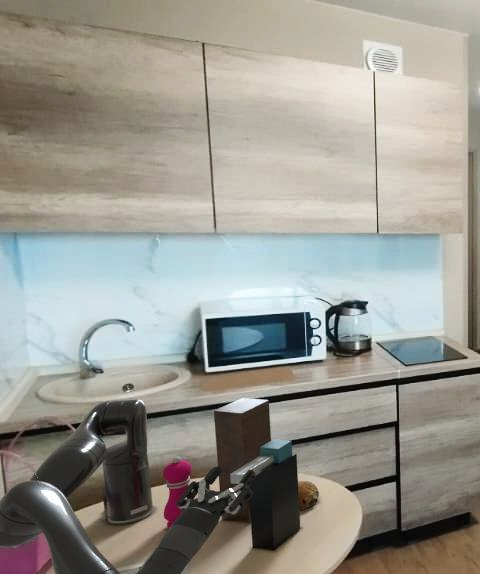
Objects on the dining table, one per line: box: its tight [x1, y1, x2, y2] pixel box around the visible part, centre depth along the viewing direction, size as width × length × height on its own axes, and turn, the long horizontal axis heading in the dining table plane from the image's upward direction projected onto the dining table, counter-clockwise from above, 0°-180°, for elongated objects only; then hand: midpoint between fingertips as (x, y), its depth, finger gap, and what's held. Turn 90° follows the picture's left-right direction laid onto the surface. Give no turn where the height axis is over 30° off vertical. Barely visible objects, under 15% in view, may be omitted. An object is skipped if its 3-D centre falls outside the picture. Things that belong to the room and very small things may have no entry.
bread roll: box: [298, 480, 320, 511], centre depth 169 cm, size 10×10×8 cm
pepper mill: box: [162, 456, 195, 531], centre depth 153 cm, size 7×7×20 cm
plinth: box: [213, 397, 272, 524], centre depth 160 cm, size 8×10×32 cm
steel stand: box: [249, 452, 301, 551], centre depth 150 cm, size 6×10×22 cm, turn 175°
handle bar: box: [230, 438, 293, 484], centre depth 144 cm, size 5×16×4 cm, turn 175°
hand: (235, 469), depth 136 cm, fingers open, 8 cm apart
